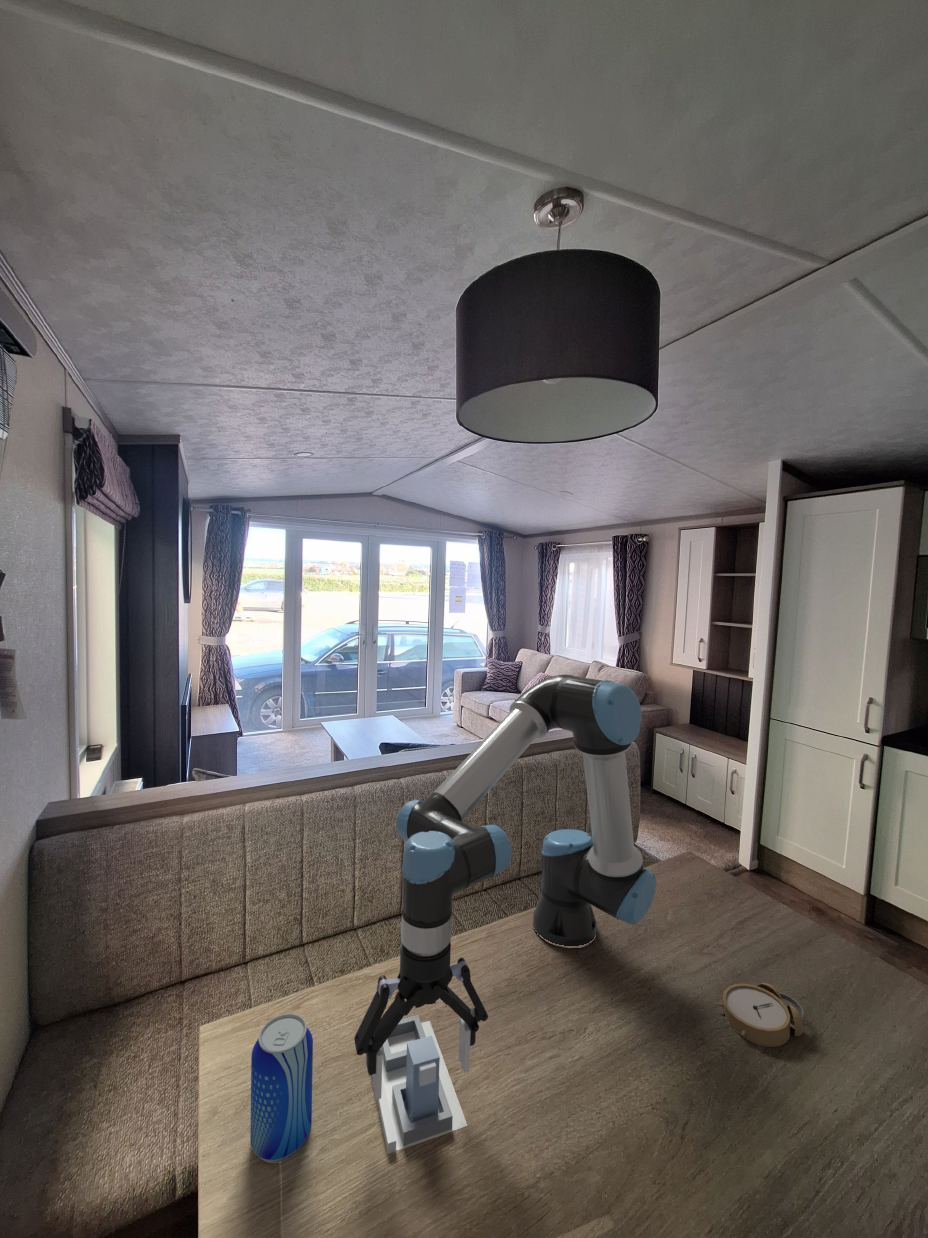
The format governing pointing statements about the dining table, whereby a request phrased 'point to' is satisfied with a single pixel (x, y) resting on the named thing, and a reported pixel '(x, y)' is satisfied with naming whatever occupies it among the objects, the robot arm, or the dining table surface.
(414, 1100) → the plug
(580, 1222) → the dining table surface
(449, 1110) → the panel
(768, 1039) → the alarm clock
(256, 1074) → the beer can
